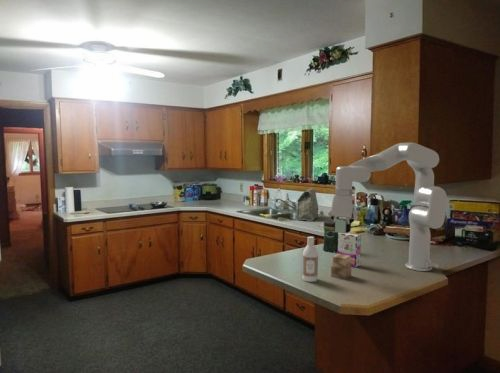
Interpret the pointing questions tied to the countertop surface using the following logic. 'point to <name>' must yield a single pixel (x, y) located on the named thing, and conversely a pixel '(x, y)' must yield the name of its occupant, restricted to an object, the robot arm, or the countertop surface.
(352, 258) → the candy bar box
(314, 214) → the bag
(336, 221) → the sage block
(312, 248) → the bath foam
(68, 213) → the countertop surface
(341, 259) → the oak top
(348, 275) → the walnut base
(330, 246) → the coffee jar
